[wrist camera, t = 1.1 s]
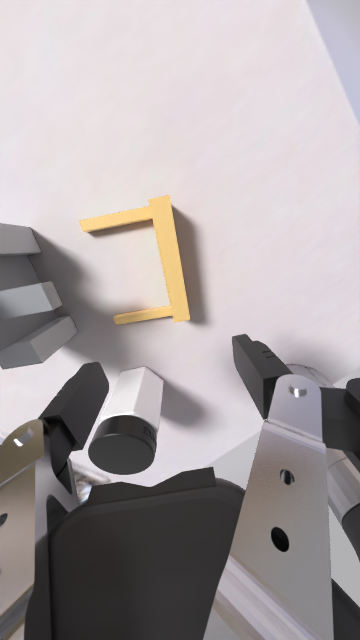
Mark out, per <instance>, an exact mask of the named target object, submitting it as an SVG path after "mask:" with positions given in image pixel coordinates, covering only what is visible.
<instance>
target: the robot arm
mask: <svg viewBox="0 0 360 640" xmlns="http://www.w3.org/2000/svg"><path fill="white" fill-rule="evenodd" d="M232 345H233V357H234V363H235V366H236V369H237V371H238V373H239V375H240V376H241V378H242V380H243V382H244V384H245V386H246V388H247V390H248V391H249V393H250V395H251V397H252V399H253V401H254V403H255V405H256V407H257V408H258V410H259V412H260V414H261V416H262V418H263V420H265V419H267V421H266V420H265V421H264V423H263V426H262V430H261V434H260V438H259V442H258V445H257V449H256V453H255V457H254V461H253V465H252V468H251V472H250V477H249V480H248V484H247V488H246V490H244V489H243V488H241V487H240V486H238V485H236V484H234V483H232V482H230V481H227V480H224V479H220V478H215V475H214V470H213V467H209V468H203V469H196V470H190V471H184V472H181V473H179V474H177V475H175V476H173V477H171V478H169V479H167V480H165V481H163V482H161V483H159V484H157V485H155V486H152V487H146V486H141V485H136V484H131V483H125V482H116V483H110V484H104V485H97V486H92V488H91V491H90V494H89V497H88V500H87V501H85V502H83V503H82V504H80V503H79V500H78V496H77V491H76V485H75V480H74V474H73V469H72V464H71V460H70V459H69V455H70V453H71V451H77V450H83V448H84V445H85V443H86V441H87V439H88V436H89V434H90V432H91V430H92V427H93V425H94V423H95V421H96V418H97V416H98V414H99V412H100V409H101V407H102V405H103V403H104V400H105V398H106V396H107V394H108V391H109V382H108V380H107V378H106V375H105V373H104V371H103V369H102V367H101V364H100V363H99V362H92V363H87V364H84V365H82V367H81V368H80V369H79V371H78V372H77V373H76V374H75V375H74V376H73V377H72V378H70V379H69V380H68V381H67V382H66V383H65V385H64V386H63V387H62V390H60V391H59V392H58V394H57V396H55V397H54V399H53V400H52V401H51V402H50V404H49V405H48V406H47V408H46V409H45V410H44V411H43V413H42V414H41V415H40V416H39V418H38V419H36V420H32V421H29V422H27V423H25V424H23V425H21V426H20V427H18V428H17V429H16V430H14V431H13V432H12V433H11V434H10V435H9V436H8V437H7V438H6V439H5V440H4V441H3V443H2V445H0V640H360V607H359V606H358V605H357V604H356V603H355V602H354V601H353V600H352V599H351V598H350V597H349V596H348V595H347V594H346V593H345V592H344V591H343V590H342V588H341V587H340V586H339V585H338V584H337V583H336V582H335V581H334V580H333V579H332V578H331V561H330V537H329V514H328V513H329V512H328V504H329V506H330V508H331V509H332V511H333V513H334V514H335V516H336V518H337V520H338V521H339V523H340V525H341V526H342V528H343V530H344V531H345V533H346V535H347V537H348V538H349V540H350V542H351V544H352V545H353V547H354V549H355V551H356V554H357V556H358V558H359V561H360V378H355V379H351V380H349V381H348V383H347V385H346V389H340V388H335V387H334V386H333V385H332V384H331V383H329V382H328V381H327V380H326V379H325V378H324V377H323V376H321V375H320V374H319V373H318V372H317V371H316V370H315V369H314V368H311V369H307V368H305V367H303V366H299V365H287V366H286V365H285V364H284V363H283V362H282V361H281V360H280V359H279V358H278V357H277V356H276V355H275V354H274V353H273V352H271V350H270V349H269V348H268V347H267V346H266V345H265V344H263V343H261V342H259V341H252V340H251V339H250V338H249V337H248V336H247V334H242V335H237V336H233V337H232Z"/></svg>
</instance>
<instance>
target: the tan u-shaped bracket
mask: <svg viewBox="0 0 360 640" xmlns="http://www.w3.org/2000/svg"><path fill="white" fill-rule="evenodd" d="M148 200H149V204H150V206H147V207H143V208H138V209H133V210H128V211H123V212H118V213H114V214H109V215H104V216H99V217H94V218H89V219H84V220H80V221H79V222H80V225H81V228H82V231H83V232H92V231H97V230H102V229H107V228H112V227H117V226H122V225H127V224H132V223H137V222H142V221H147V220H152V219H153V224H154V229H155V233H156V238H157V243H158V248H159V253H160V257H161V262H162V267H163V272H164V277H165V281H166V286H167V291H168V296H169V301H170V306H164V307H159V308H153V309H147V310H141V311H136V312H130V313H124V314H118V315H115V316H114V318H113V319H114V321H115V324H116V325H119V324H125V323H131V322H137V321H143V320H148V319H154V318H160V317H166V316H172V315H173V320H174V323H175V322H181V321H187V320H190V315H189V309H188V303H187V297H186V291H185V285H184V279H183V273H182V267H181V261H180V255H179V249H178V243H177V237H176V231H175V225H174V219H173V213H172V207H171V201H170V195H167V196H162V197H158V198H153V199H148Z"/></svg>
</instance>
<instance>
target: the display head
mask: <svg viewBox="0 0 360 640" xmlns="http://www.w3.org/2000/svg"><path fill="white" fill-rule="evenodd" d="M40 252H41V250H40V248H39V246H38V243H37V241H36V239H35V237H34V235H33V232H32V230H31V228H30V227H24V226H17V225H10V224H2V223H0V366H1V368H2V369H9V368H15V367H21V366H27V365H33V364H40V363H43V362H44V361H45V360H46V359H48V358H49V357H50V356H51V355H52V354H53V353H55V352H56V351H57V350H58V349H59V348H60V347H62V346H63V345H64V344H65V343H66V342H67V341H69V340H70V339H71V338H72V337H73V336H74V335H76V334H77V333H78V331H77V329H76V327H75V325H74V323H73V320H72V318H71V316H70V315H69V316H64V317H57V315H56V313H55V311H54V309H56V308H58V307H60V306H62V305H63V304H62V302H61V300H60V298H59V296H58V293H57V291H56V289H55V287H54V285H53V283H52V281H50V282H44V283H41V282H40V280H39V278H38V276H37V273H36V271H35V269H34V267H33V265H32V263H31V261H30V259H29V257H28V255H30V254H35V253H40Z"/></svg>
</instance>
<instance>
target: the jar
mask: <svg viewBox="0 0 360 640" xmlns="http://www.w3.org/2000/svg"><path fill="white" fill-rule="evenodd" d="M163 383H164V381H163V380H162V379H161V378H159V377H158V376H157V375H156V374H154V373H153V372H152V371H151V370H149V369H148V368H147V367H140V368H136V369H131V370H126V371H122V372H121V373H120V375H119V377H118V380H117V382H116V384H115V386H114V389H113V391H112V393H111V395H110V397H109V400H108V402H107V404H106V406H105V409H104V411H103V413H102V415H101V417H100V422H99V426H98V428H97V430H96V432H95V434H94V437H93V439H92V441H91V443H90V446H89V449H88V455H89V458H90V460H91V461H92V463H93V464H94V465H96V466H97V467H98V468H100V469H102V470H104V471H106V472H109V473H113V474H119V475H130V474H136V473H139V472H142V471H144V470H145V469H147V468H148V467H149V466H150V465H151V464H152V463H153V461H154V457H155V452H156V445H157V443H156V442H157V441H156V439H157V433H158V430H159V423H160V413H161V403H162V393H163Z"/></svg>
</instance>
